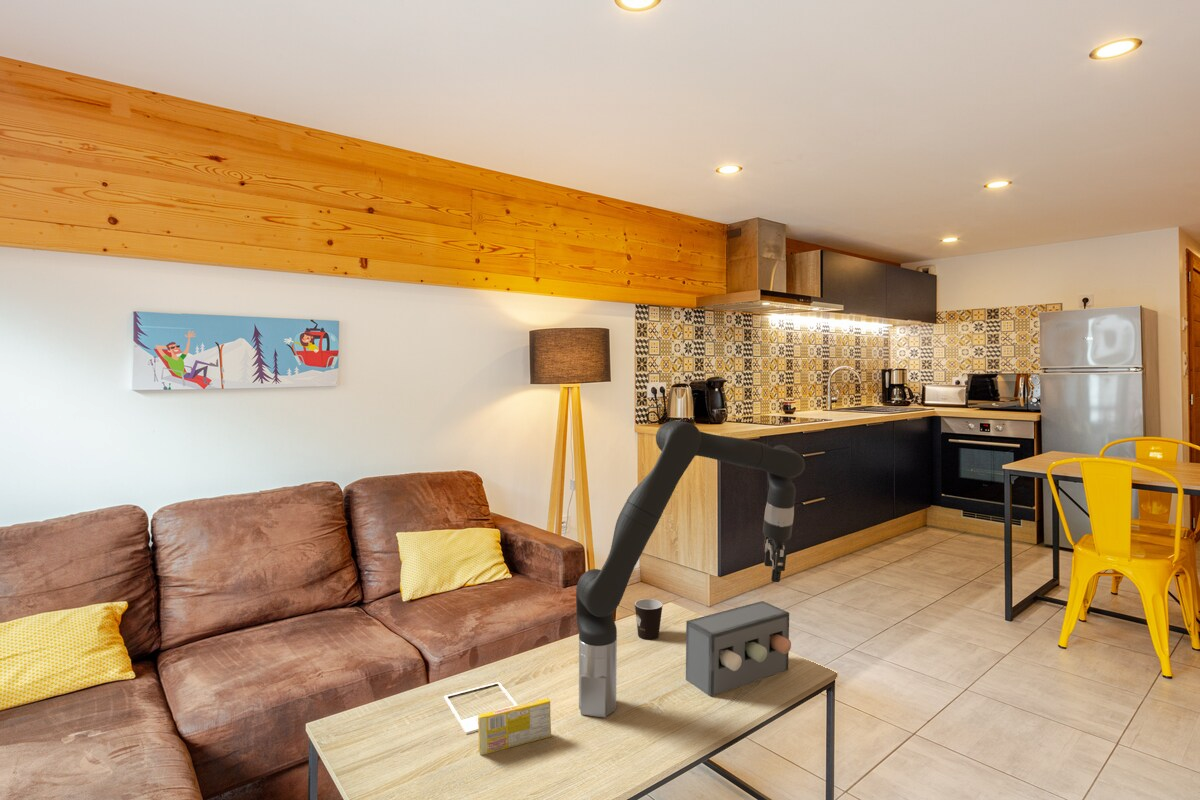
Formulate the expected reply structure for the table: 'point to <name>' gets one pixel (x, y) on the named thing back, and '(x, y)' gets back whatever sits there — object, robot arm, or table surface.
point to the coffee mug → (648, 618)
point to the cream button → (730, 659)
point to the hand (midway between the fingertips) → (771, 573)
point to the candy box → (514, 726)
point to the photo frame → (472, 723)
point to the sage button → (755, 651)
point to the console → (734, 646)
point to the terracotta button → (780, 643)
